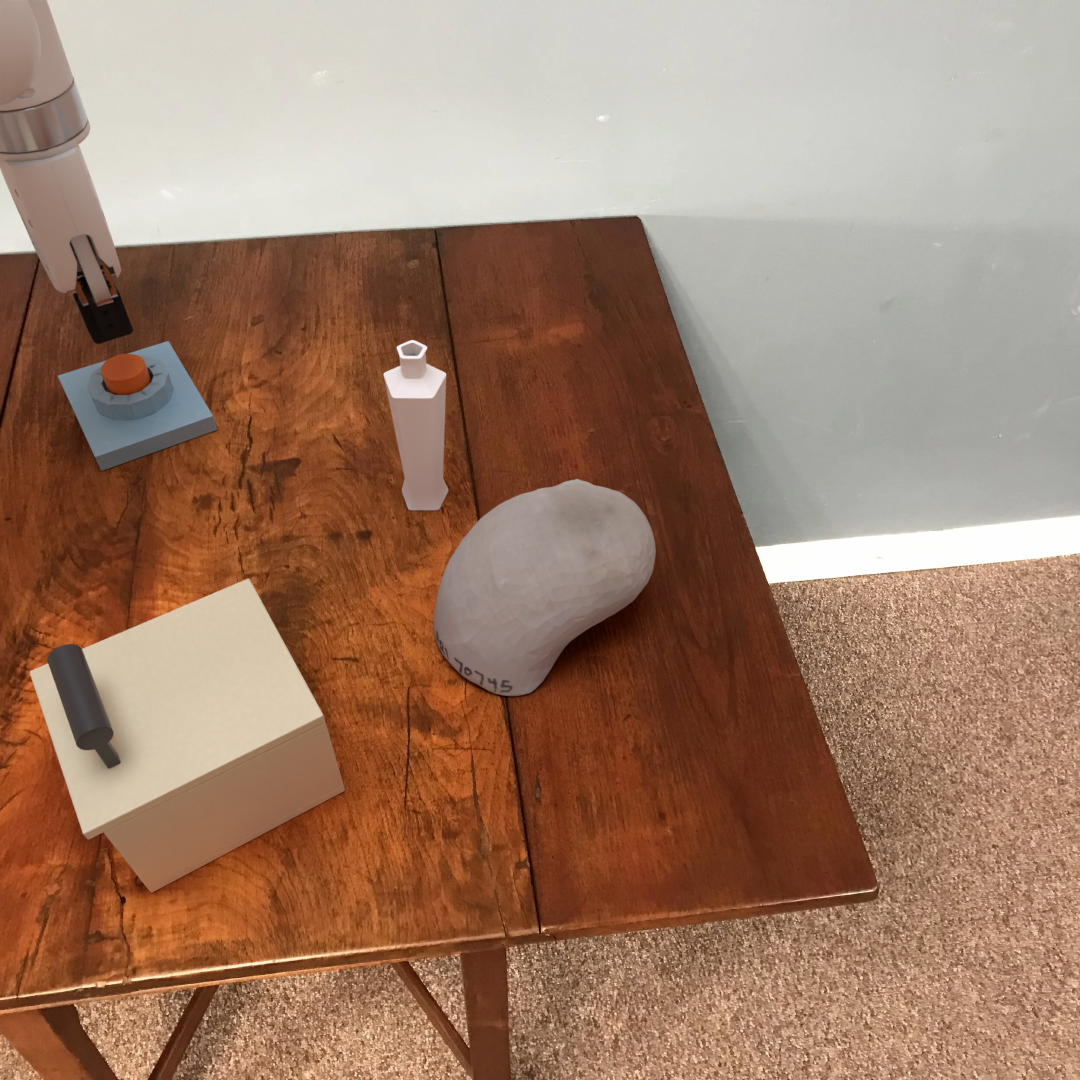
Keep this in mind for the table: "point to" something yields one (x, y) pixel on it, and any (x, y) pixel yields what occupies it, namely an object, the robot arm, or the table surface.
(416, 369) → the perfume bottle
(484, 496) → the table surface
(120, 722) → the lid
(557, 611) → the grey rounded lump
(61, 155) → the robot arm
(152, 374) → the box
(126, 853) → the chest
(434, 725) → the table surface
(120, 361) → the button
